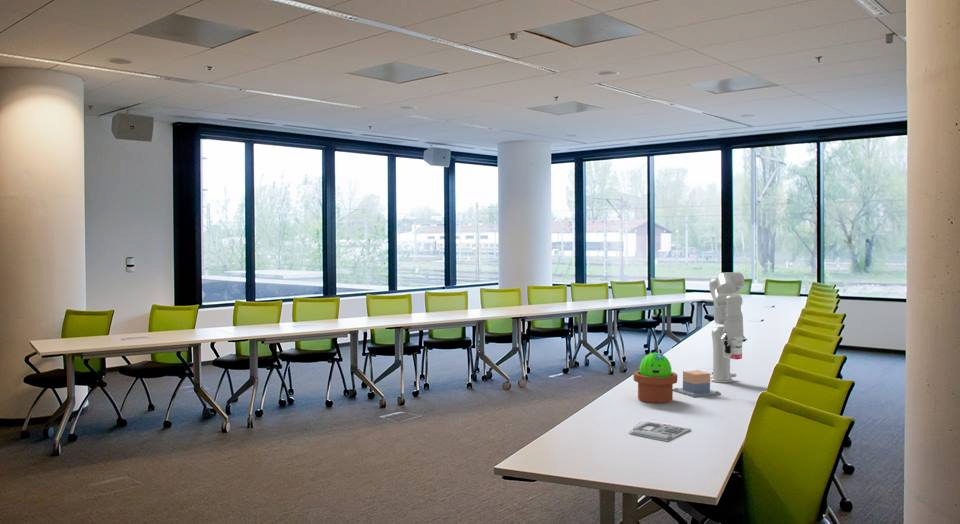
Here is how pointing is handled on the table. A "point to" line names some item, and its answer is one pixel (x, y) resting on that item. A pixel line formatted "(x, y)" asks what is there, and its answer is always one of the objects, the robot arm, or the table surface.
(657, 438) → the grey flat panel
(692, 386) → the studded square plate
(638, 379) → the potted cactus
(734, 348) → the ink box
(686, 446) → the table surface
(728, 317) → the robot arm
